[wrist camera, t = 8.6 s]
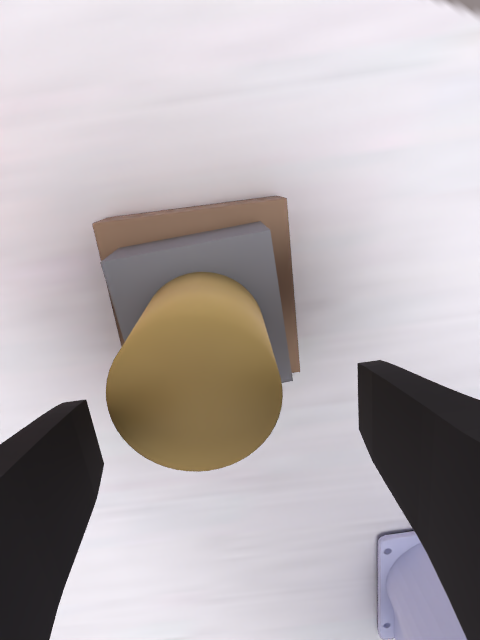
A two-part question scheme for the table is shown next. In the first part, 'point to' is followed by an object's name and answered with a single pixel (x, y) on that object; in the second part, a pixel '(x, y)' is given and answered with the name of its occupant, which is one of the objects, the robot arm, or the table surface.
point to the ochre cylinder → (196, 376)
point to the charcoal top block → (201, 256)
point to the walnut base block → (208, 218)
